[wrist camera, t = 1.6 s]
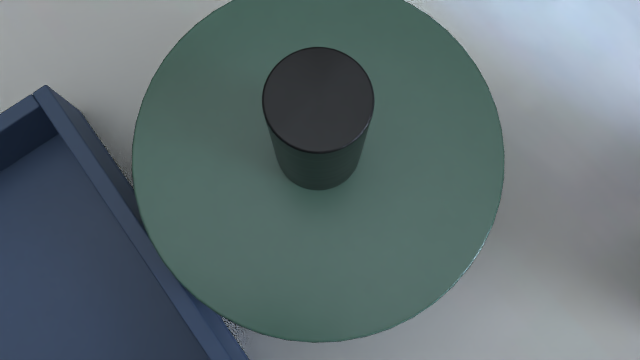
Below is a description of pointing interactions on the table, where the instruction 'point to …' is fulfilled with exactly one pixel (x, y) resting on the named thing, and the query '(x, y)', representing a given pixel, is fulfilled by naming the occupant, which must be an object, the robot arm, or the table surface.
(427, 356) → the table surface
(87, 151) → the tray
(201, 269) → the lid
